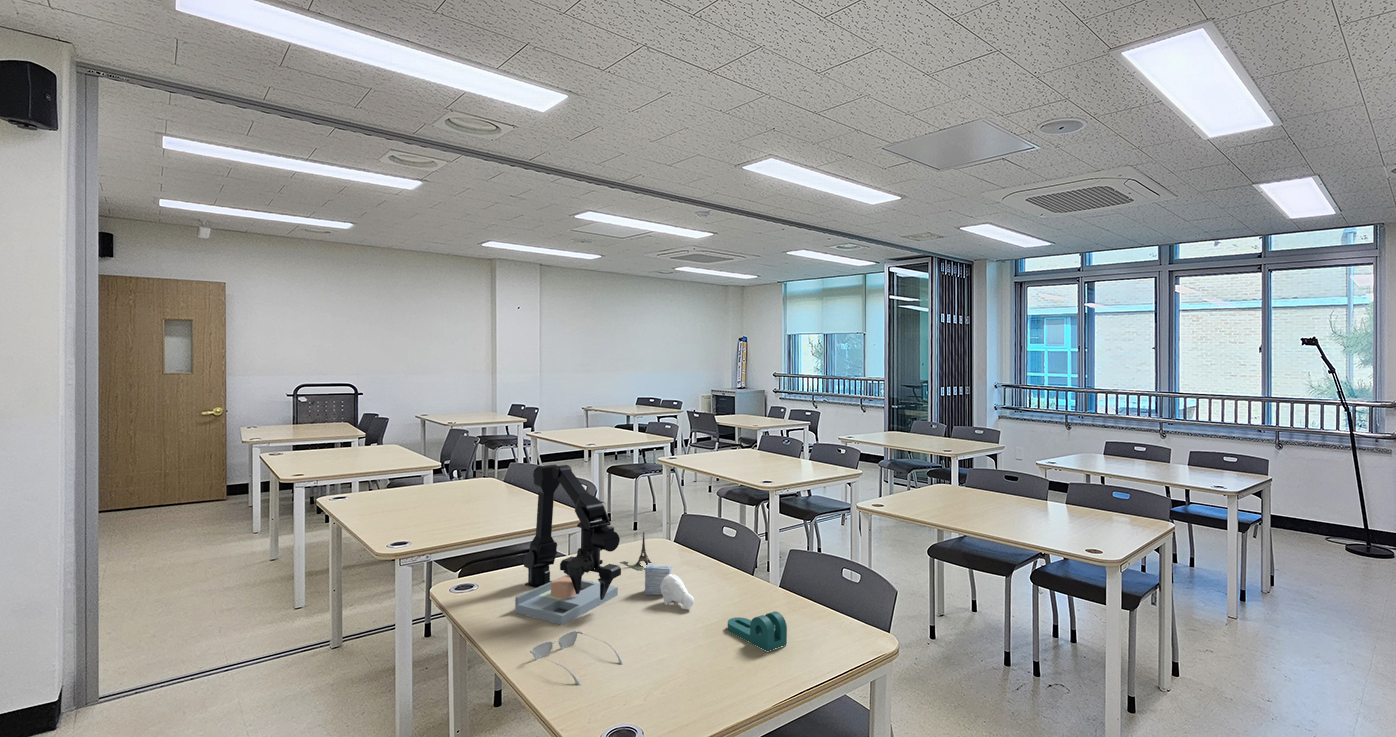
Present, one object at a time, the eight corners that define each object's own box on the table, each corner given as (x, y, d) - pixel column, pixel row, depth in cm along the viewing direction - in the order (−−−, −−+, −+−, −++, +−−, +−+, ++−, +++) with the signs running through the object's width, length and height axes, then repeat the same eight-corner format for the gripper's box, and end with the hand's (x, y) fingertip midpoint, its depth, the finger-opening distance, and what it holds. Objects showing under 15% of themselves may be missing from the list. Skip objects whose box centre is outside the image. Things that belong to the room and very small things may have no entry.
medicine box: (671, 591, 202) (671, 564, 202) (669, 596, 197) (669, 568, 197) (647, 590, 203) (647, 563, 203) (644, 595, 198) (644, 567, 198)
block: (550, 595, 189) (551, 582, 189) (563, 589, 195) (564, 576, 195) (566, 599, 187) (566, 585, 187) (579, 592, 192) (579, 579, 192)
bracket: (786, 646, 163) (787, 616, 163) (767, 653, 159) (768, 622, 159) (740, 623, 178) (741, 595, 178) (722, 629, 173) (723, 600, 173)
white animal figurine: (674, 570, 196) (701, 583, 187) (672, 596, 196) (699, 611, 188) (659, 574, 191) (685, 588, 183) (656, 601, 192) (683, 616, 183)
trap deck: (515, 612, 182) (515, 597, 182) (573, 585, 206) (573, 571, 206) (562, 624, 174) (562, 608, 174) (617, 595, 198) (617, 580, 198)
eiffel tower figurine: (618, 563, 231) (619, 527, 231) (641, 558, 237) (642, 523, 237) (642, 574, 219) (642, 536, 219) (665, 568, 226) (665, 531, 226)
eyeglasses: (578, 643, 164) (578, 628, 164) (626, 664, 152) (627, 648, 152) (528, 664, 152) (529, 647, 152) (577, 689, 140) (577, 671, 140)
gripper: (547, 546, 184) (547, 599, 184) (599, 556, 175) (598, 611, 175) (572, 537, 194) (571, 588, 194) (622, 546, 185) (621, 599, 185)
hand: (589, 596), depth 187 cm, fingers open, 9 cm apart
